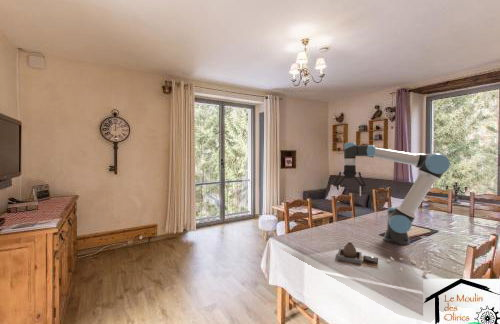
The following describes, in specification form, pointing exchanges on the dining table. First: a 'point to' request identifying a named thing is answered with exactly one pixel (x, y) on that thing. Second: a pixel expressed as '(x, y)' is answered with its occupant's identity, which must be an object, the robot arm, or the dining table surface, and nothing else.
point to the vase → (349, 250)
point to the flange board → (363, 263)
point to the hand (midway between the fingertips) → (349, 195)
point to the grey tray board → (356, 261)
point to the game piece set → (413, 263)
